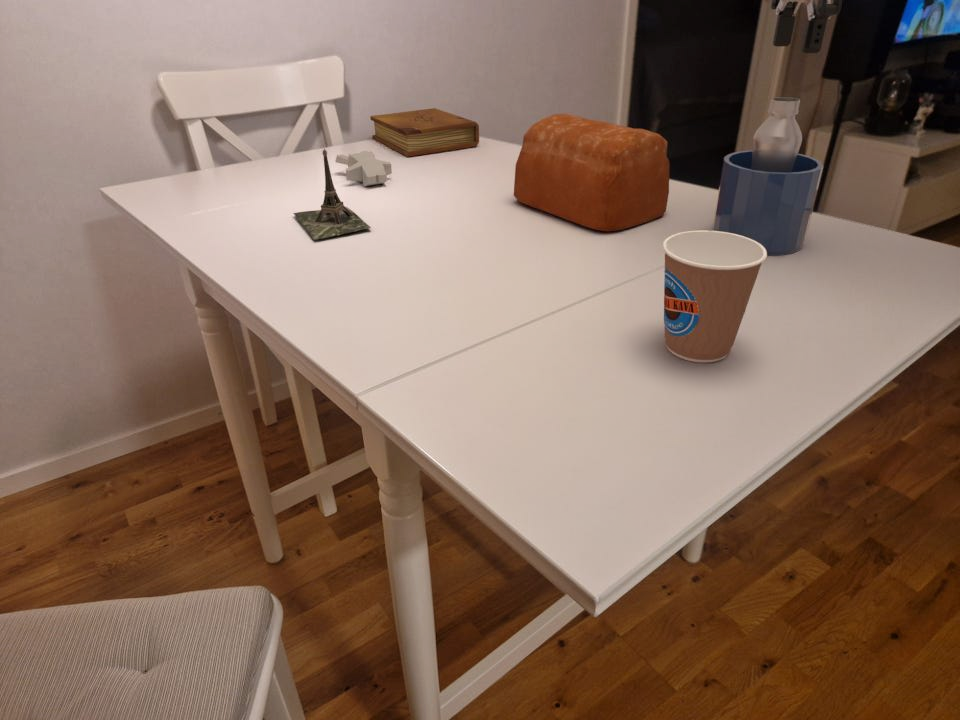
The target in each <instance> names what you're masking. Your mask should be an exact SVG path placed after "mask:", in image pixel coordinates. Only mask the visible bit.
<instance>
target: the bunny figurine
mask: <svg viewBox="0 0 960 720" xmlns="http://www.w3.org/2000/svg"><path fill="white" fill-rule="evenodd" d="M334 162H335V163H336V164H342V165H346V166H347V168H346V169H345V175H346V181H349V182H350V181H352V182H361V183H362V186H363V187H370V186H375V185H381V184H385V183H387V182H388V177H387V176H390V175H392V172H393V171H392V163H391V162H390V161H385V160H381V159H377V158H376V156H375V153H374V152H373V151H371V150H370V151H369V150H362V151H360V152H356V153H350V154H348V155H346V154H337V155H336V157H335V161H334Z"/></svg>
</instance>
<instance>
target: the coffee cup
mask: <svg viewBox="0 0 960 720" xmlns="http://www.w3.org/2000/svg"><path fill="white" fill-rule="evenodd" d="M662 249H663V252H664V279H663V280H664V283H663V284H664V285H663V293H664V294H663V324H664V338H665V346H666V349H667V350H668V351H669V352H670V353H671V354H672V355H674V356H676V357H677V358H680V359H682V360H685V361H688V362H693V363H705V364H706V363H715V362H718V361H721V360H723V359H725V358H727V356H728V355H729V354H730V351H731V348H733V346H734V344H735V341H736V338H737V335H738V332H739V329H740V326H741V323H742V321H743V318H744V315H745V313H746V310H747V306H748V304H749V301H750V298H751V295H752V292H753V289H754V287H755V284H756V280H757V279H758V278H757V277H758V275H759V272H760V269H761V267H762V263H763V262H764V261H765V260H766V259H767V257H768V256H767V252H766V249H765V248H764V247H763V246H762V245H761V244H760V243H758V242H756V241H754V240H752V239H750V238H747V237H744V236H741V235H737V234H733V233H728V232H721V231H712V230H708V229H707V230H706V229H705V230H704V229H703V230H701V229H700V230H699V229H698V230H689V231H681V232H678V233H674V234H672V235H670V236H668V237H667V238H666V239H665V240H664V241H663V242H662ZM762 254H763V255H762Z"/></svg>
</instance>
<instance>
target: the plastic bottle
mask: <svg viewBox="0 0 960 720" xmlns="http://www.w3.org/2000/svg"><path fill="white" fill-rule="evenodd" d="M800 104H801V99H799V98H795V97H789V96H787V97H785V96H782V97H781V96H780V97H773V98H771V100H770V105H769V108H768V110H767V113H768V114H769V116H768V118H766V120H764V121H763V122H762V123H761V124H760V126H759V127H758V128H757V129H756V131H755V133H754V134H753V137H752V142H751V144H752V147H751V148H752V149H751V150H752V166H751V169H752V170H757V171H765V172H781V173H790V172H792V169H793V165H794V162H795V160H796V157H797V154H799V151H800V148H801V145H802V142H803V134H802V131H801V129H800V125H799V123H798V122H797V120H796V115H799V111H800V110H799V108H800Z"/></svg>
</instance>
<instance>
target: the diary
mask: <svg viewBox="0 0 960 720" xmlns="http://www.w3.org/2000/svg"><path fill="white" fill-rule="evenodd" d="M370 121H372V122H373V125H374V134H372V135H371V136H372V140H374V141H376V142H378V143H381V144H382V145H384V146H385V147H388V148H390V149H391V150H393V151H396V152H398V153H400V154H402V155H403V156H405V157H407V158H408V157H414V156H421V155H427V154H435V153H441V152H446V151H447V152H448V151H455V150H460V149H467V148H473V147H477V146H478V144H479V143H480V125H479V124H478V123H477V122H476V121H474V120H471V119H468V118H465V117H463V116H459V115H457V114H454V113H450V112H448V111H445V110H441V109H438V108H436V107H433V108H425V109H415V110H408V111H401V112H399V111H398V112H392V113H384V114H376V115H370Z"/></svg>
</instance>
